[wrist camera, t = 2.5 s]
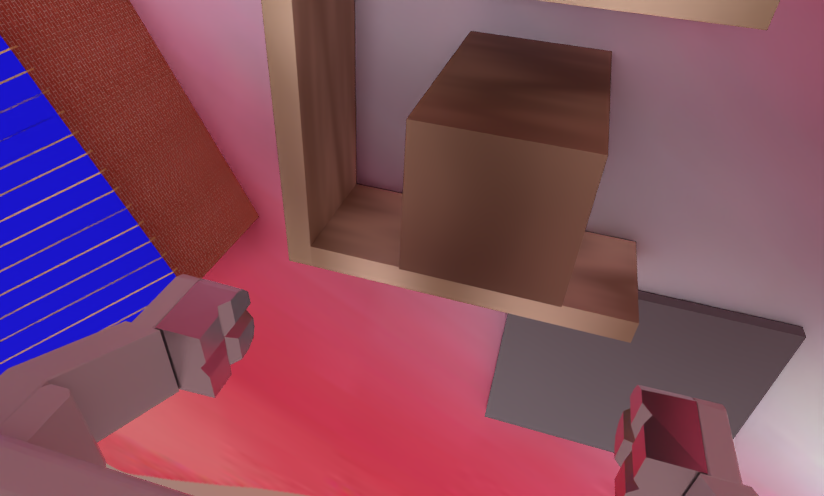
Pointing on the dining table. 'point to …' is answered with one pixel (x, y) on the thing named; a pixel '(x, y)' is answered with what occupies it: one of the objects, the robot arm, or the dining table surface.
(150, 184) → the house
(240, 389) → the dining table surface
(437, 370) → the dining table surface
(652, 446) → the robot arm
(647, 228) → the dining table surface
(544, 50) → the block
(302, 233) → the wooden open frame
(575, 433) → the mat
